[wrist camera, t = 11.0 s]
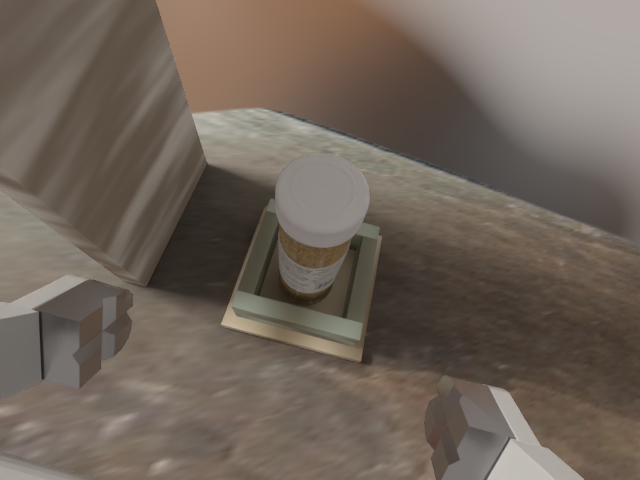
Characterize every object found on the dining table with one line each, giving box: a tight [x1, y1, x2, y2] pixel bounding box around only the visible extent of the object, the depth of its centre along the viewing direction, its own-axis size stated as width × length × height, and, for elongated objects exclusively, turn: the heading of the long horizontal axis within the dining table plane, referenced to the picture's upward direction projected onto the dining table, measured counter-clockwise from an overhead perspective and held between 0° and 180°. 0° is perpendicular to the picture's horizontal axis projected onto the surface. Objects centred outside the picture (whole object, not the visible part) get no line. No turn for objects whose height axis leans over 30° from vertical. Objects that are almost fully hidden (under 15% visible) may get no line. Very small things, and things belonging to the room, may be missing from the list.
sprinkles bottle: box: [275, 153, 370, 305], centre depth 22 cm, size 5×5×13 cm
